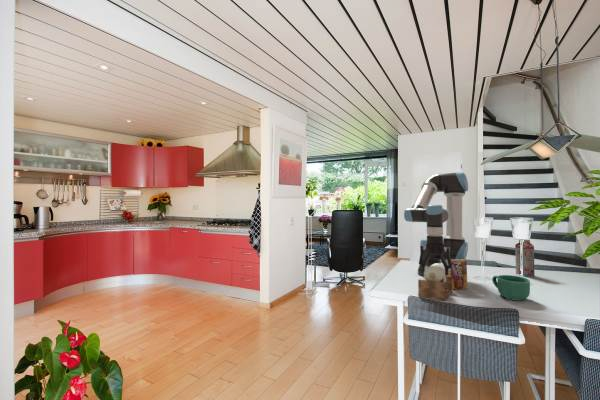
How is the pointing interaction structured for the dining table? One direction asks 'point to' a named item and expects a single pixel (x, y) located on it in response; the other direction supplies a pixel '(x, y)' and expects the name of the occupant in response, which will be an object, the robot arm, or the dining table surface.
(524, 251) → the juice carton
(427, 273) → the roll
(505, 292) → the mug
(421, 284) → the cradle
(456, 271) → the candy box
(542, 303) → the dining table surface
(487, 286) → the dining table surface
